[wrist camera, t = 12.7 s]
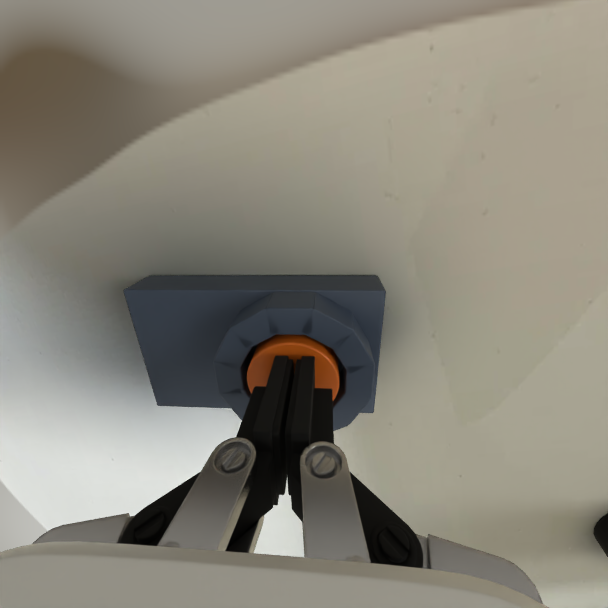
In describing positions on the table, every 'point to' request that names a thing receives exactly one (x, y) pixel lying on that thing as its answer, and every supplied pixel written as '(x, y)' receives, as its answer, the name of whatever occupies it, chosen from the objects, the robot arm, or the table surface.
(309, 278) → the control block
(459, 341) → the table surface
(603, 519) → the cup
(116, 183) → the table surface
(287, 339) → the button
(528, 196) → the table surface
